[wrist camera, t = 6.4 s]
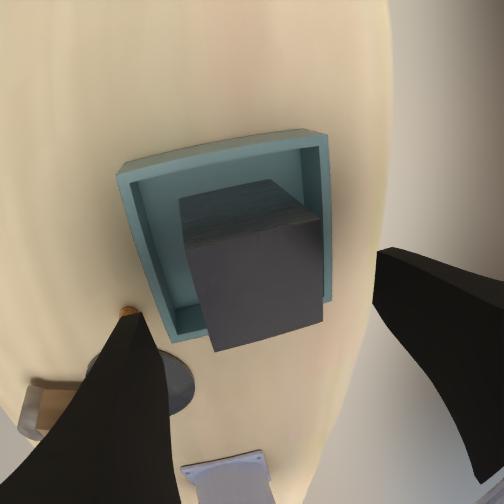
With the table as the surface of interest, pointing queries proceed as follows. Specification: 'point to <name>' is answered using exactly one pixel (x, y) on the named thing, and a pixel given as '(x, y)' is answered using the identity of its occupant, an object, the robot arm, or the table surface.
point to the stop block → (253, 262)
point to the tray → (208, 179)
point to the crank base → (170, 376)
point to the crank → (42, 410)
